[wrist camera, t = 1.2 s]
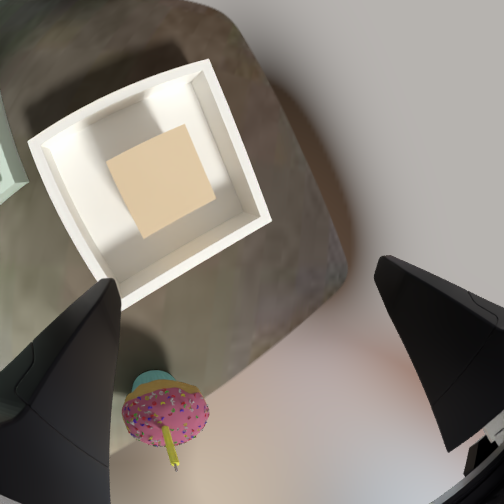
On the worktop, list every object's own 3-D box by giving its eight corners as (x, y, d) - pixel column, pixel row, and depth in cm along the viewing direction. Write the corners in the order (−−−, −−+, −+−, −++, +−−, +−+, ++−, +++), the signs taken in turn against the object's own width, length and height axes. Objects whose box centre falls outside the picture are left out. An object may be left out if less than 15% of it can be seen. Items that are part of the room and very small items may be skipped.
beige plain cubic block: (135, 222, 20) (143, 238, 15) (108, 166, 18) (105, 161, 13) (190, 192, 22) (216, 198, 17) (165, 137, 19) (184, 123, 14)
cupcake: (100, 383, 22) (116, 483, 12) (160, 339, 24) (203, 434, 14) (153, 421, 26) (186, 504, 16) (207, 384, 28) (259, 463, 18)
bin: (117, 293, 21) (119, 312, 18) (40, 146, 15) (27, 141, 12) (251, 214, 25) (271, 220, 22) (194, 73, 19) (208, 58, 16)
